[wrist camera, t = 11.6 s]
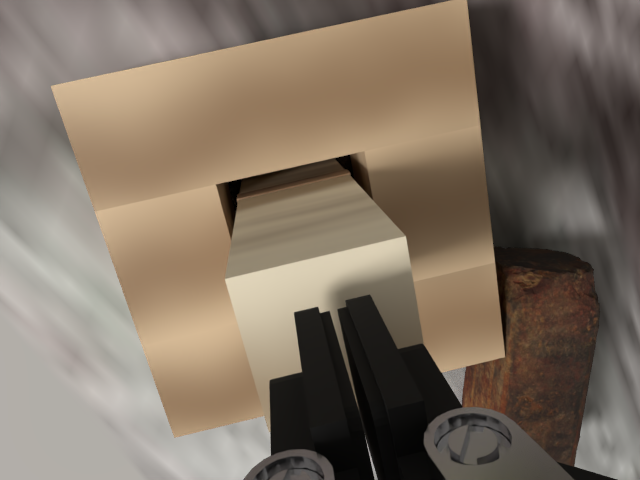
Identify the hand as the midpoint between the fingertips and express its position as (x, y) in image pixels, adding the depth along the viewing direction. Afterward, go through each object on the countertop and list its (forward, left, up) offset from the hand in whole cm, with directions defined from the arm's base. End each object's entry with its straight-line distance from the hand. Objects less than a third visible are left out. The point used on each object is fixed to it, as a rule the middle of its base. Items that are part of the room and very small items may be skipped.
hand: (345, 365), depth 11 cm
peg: (0, 0, -13) cm, 13 cm away
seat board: (0, 0, -13) cm, 13 cm away
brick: (+9, +8, -13) cm, 18 cm away
